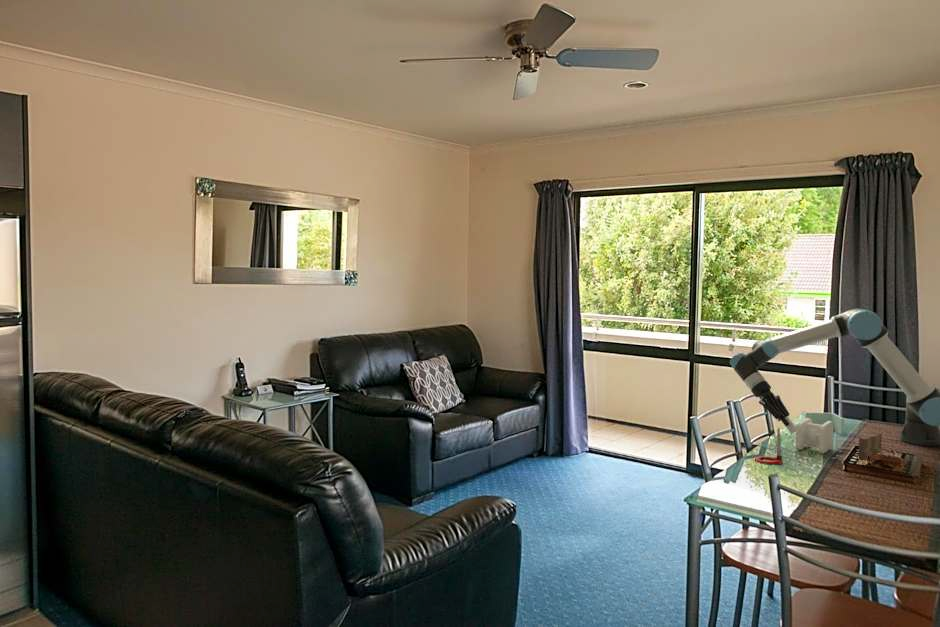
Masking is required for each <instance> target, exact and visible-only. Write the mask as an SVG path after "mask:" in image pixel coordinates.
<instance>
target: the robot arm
mask: <svg viewBox="0 0 940 627" xmlns="http://www.w3.org/2000/svg"><path fill="white" fill-rule="evenodd" d="M888 335H889V330H888V329H887V328H886V326H885V325H884V324H883V322H882V319H881V317H880V316H879V315H878V314H877V313H876V312H874V311H872V310H869V309H864V308H852V309H849V310H846V311H845V312H841V313H840V314H836V315H833V316H832V317H831V318H830V319H829V320H826V321H821V322H819V323H816V324H813V325H810V326H807V327H804V328H803V327H802V328H800V329H796V330H794V331H790V332H786V333H784V334H783V333H782V334H780V335H778V336H777V335H776V336H773V337H771V338H767V339H765V340H757V341H755V342H754V343H753V345H752V347H751V350H750V351H749V352H747V353H746V354H745V353H744V352H737V354H735V355H733V356H732V357H731V358H730V360H729V364H730V365H731V367H732V368H733V370H734V372H735V373H736V374H737V375H738V376H739V378H740V379H741V380H742V381H743V383H744V384H745V385H746V387H747V388H748V389H749V390H750V391H751V393H752V394H753V395H754V397H755V398H758V399H760V400H759V401H758V403H759V404H760V405H761V406H762V407H764V409H765V410H766V411H768V413H769V414H770V415H771V416H772V417H773V418H774V419H775V420H777V422H782V424H783V425H784V426H785V428H786V429H787V430H788V431H789V433H790V434H794V433H796V428H795V425H796V424H794V422H793V421H792V420H791V419H790V417H789V416H790V412H789V410H788V409H787V407H786V405H784V403H783V401H782V400H781V397H780V395H775V394H774V393H773V391H771V390H772V386H771V385H770V383H769V382H768V381H767V380H766V378H765V377H764V376H763V375H762V374H761V373H760V371H759V370H758V369H759V368H761V367H762V366H763V365H765V364H767V363H768V362H770V361H771V360H772V359H775V358H776V357H777V355H779V354H782V353H787V352H789V351H792V350H793V351H794V350H795V349H799V348H802V347H806V346H809V345H812V344H813V345H814V344H816V343H819V342H823V341H826V340H830V339H833V338H839V339H841V338H844V337H850V336H852V337H853V339H854V341H856V342H857V344H858V345H859V346H860V348H862V349H864V348H865V349H867V350H868V351H869V352H870V353H871V354H872V356H874V358H875V359H876V361H877V362H878V363H879V364H880V365H881V367H883V369H884V370H885V371H886V372H887V374H888V375H889V376H890V377H891V378H892V380H893V381H894V382H895V383H896V385H897V386H898V387H899V388H900V389H901V391H902V392H903V393H904V394H905V395H906V399H905V401H906V404H905V422H904V423H903V426H902V427H901V428H902V429H901V430H900V433H899V440H900V441H901V442H904V443H908V444H913V445H916V446H926V447H940V389H939V388H936V387H935V385H932V384H928V383H927V382H926V381H925V380H924V378H923V377H922V376H921V375H920V374H919V372H918V371H917V370H916V369H915V367H913V365H912V364H911V363H910V362H909V361H908V358H906V357H905V355H904V354H903V353H902V352H901V350H900V349H899V348H898V347H897V346H896V344H894V342H893V341H892V340H891V339H890V338H889V336H888Z"/></svg>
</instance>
